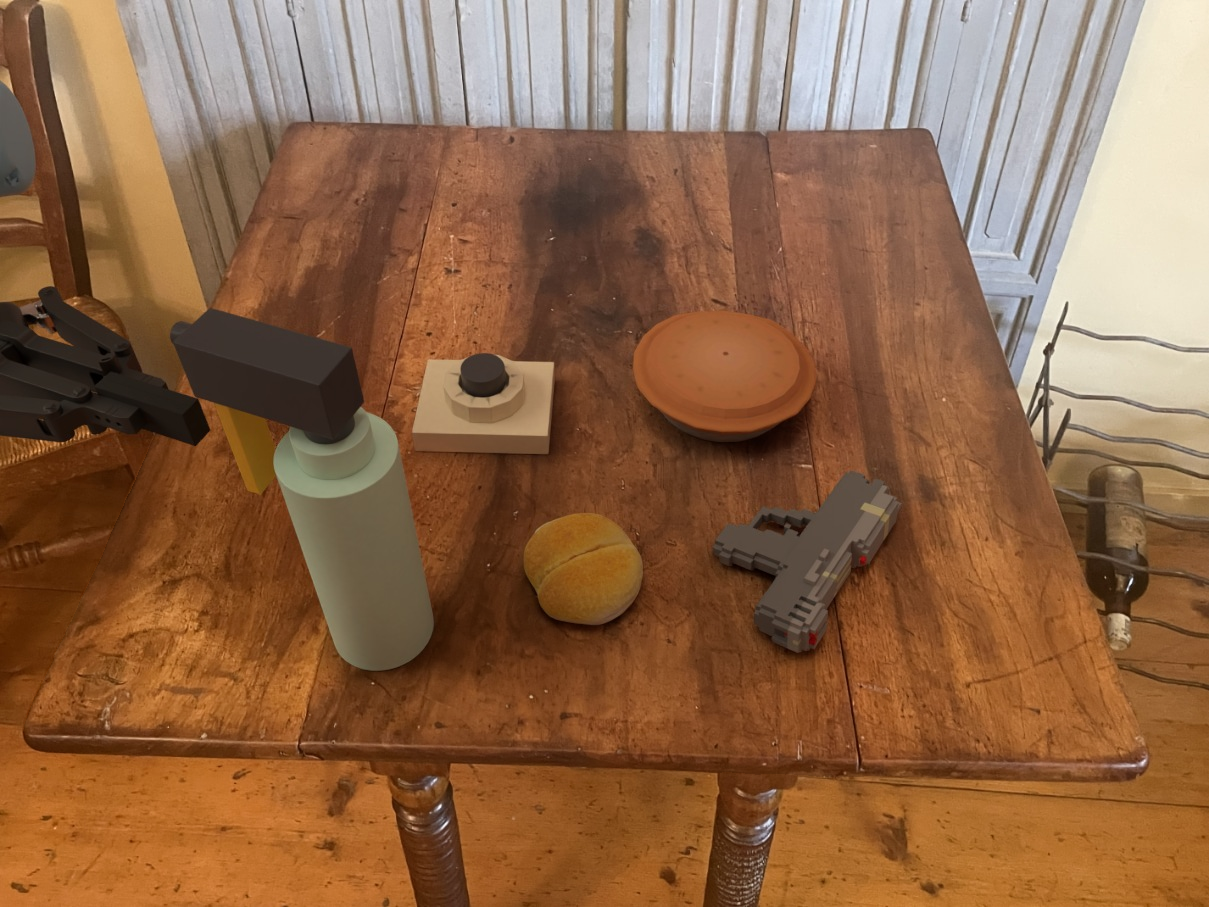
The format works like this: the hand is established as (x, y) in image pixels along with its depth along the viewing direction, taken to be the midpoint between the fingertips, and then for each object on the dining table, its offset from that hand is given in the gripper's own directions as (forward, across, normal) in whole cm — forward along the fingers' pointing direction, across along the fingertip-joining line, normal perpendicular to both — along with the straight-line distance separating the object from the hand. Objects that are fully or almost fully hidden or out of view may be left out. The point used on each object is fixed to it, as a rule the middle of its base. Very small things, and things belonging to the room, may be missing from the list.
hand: (196, 422), depth 60 cm
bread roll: (+21, -9, -17) cm, 29 cm away
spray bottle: (+8, 0, -17) cm, 18 cm away
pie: (+25, -32, -17) cm, 44 cm away
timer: (+7, -22, -17) cm, 29 cm away
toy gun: (+35, -17, -17) cm, 43 cm away
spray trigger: (+4, 0, -4) cm, 5 cm away
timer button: (+7, -22, -13) cm, 27 cm away
